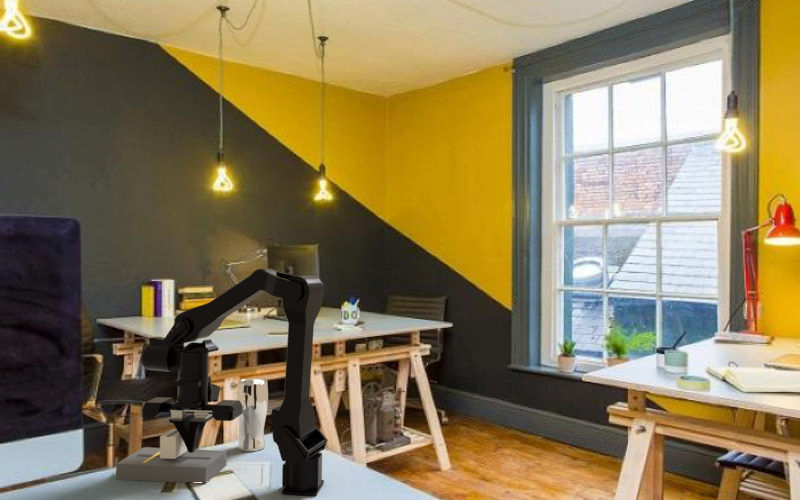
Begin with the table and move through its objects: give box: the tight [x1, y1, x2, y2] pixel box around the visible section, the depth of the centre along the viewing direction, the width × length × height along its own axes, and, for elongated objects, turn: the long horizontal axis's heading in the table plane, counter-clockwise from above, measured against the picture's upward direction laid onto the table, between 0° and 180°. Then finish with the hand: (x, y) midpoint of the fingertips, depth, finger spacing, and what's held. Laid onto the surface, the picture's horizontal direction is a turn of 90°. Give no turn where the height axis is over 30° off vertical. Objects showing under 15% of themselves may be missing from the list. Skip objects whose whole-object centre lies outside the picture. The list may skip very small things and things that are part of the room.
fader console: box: [115, 446, 228, 484], centre depth 116 cm, size 18×10×3 cm, turn 84°
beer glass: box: [236, 378, 269, 453], centre depth 132 cm, size 7×7×15 cm
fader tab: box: [159, 428, 187, 459], centre depth 116 cm, size 3×5×4 cm, turn 174°
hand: (191, 452), depth 116 cm, fingers closed
